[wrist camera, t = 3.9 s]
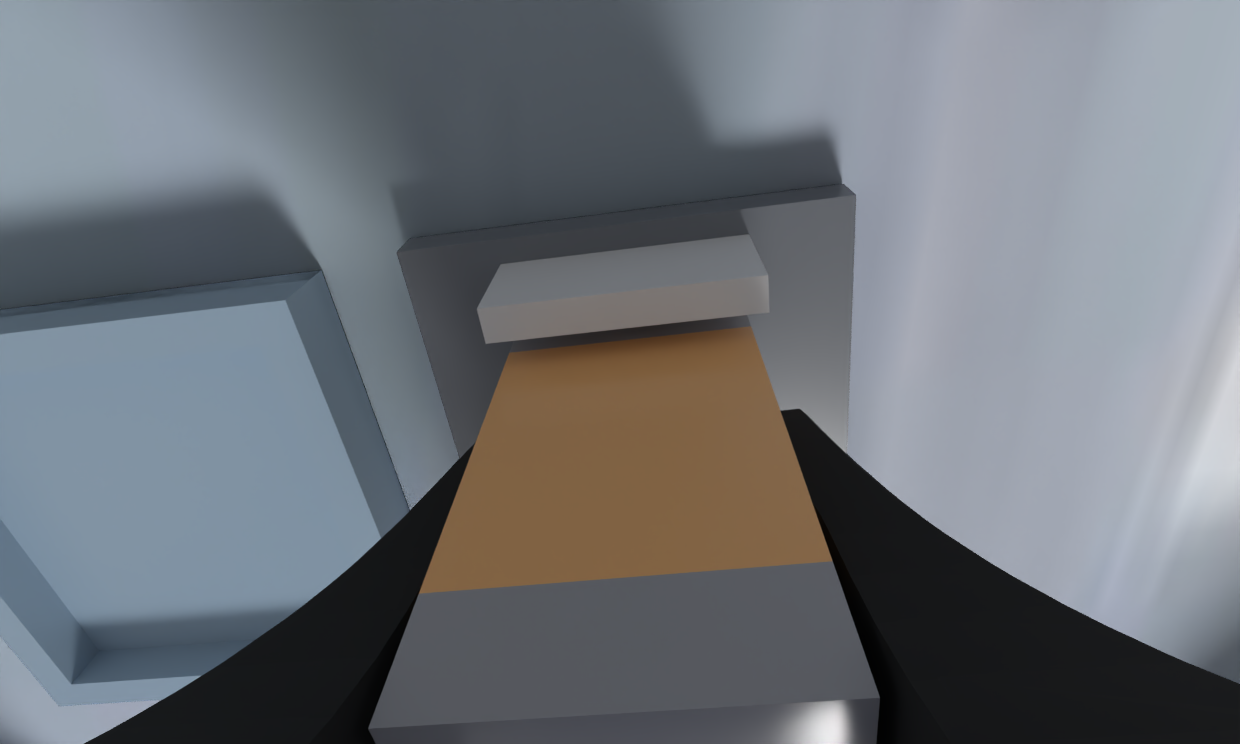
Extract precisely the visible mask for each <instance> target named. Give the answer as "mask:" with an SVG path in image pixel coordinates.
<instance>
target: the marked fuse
mask: <svg viewBox="0 0 1240 744" xmlns="http://www.w3.org/2000/svg"><path fill="white" fill-rule="evenodd" d="M879 704H880V696H879V693H878V691H877V688H876V685H875V682H874V679H873V676H872V673H871V670H870V667H869V665H868V662H867V659H866V656H865V653H864V650H863V647H862V644H861V642H860V639H859V636H858V633H857V630H856V627H855V624H854V621H853V619H852V616H851V613H850V610H849V607H848V604H847V601H846V598H845V595H844V593H843V590H842V587H841V584H840V581H839V578H838V575H837V572H836V570H835V567H834V564H833V561H832V558H831V555H830V552H829V549H828V547H827V544H826V541H825V538H824V535H823V532H822V529H821V526H820V523H819V521H818V518H817V515H816V512H815V509H814V506H813V503H812V500H811V498H810V495H809V492H808V489H807V486H806V483H805V480H804V477H803V474H802V472H801V469H800V466H799V463H798V460H797V457H796V454H795V451H794V449H793V446H792V443H791V440H790V437H789V434H788V431H787V428H786V426H785V423H784V420H783V417H782V414H781V411H780V408H779V405H778V402H777V400H776V397H775V394H774V391H773V388H772V385H771V382H770V379H769V377H768V374H767V371H766V368H765V365H764V362H763V359H762V356H761V354H760V351H759V348H758V345H757V342H756V339H755V336H754V333H753V330H752V328H751V325H750V322H749V319H748V316H747V315H742V316H733V317H724V318H715V319H706V320H697V321H688V322H679V323H669V324H660V325H651V326H642V327H633V328H624V329H615V330H606V331H597V332H588V333H579V334H570V335H561V336H552V337H543V338H534V339H525V340H516V341H514V342H513V344H512V347H511V350H510V352H509V355H508V357H507V360H506V363H505V365H504V368H503V371H502V373H501V376H500V379H499V381H498V384H497V387H496V389H495V392H494V395H493V397H492V400H491V403H490V405H489V408H488V411H487V413H486V416H485V419H484V421H483V424H482V427H481V429H480V432H479V435H478V437H477V440H476V443H475V445H474V448H473V451H472V453H471V456H470V459H469V461H468V464H467V467H466V469H465V472H464V475H463V477H462V480H461V483H460V485H459V488H458V491H457V493H456V496H455V499H454V501H453V504H452V507H451V509H450V512H449V515H448V517H447V520H446V523H445V525H444V528H443V531H442V533H441V536H440V539H439V541H438V544H437V547H436V549H435V552H434V555H433V557H432V560H431V563H430V565H429V568H428V571H427V573H426V576H425V579H424V581H423V584H422V587H421V589H420V592H419V595H418V597H417V600H416V603H415V605H414V608H413V611H412V613H411V616H410V619H409V621H408V624H407V627H406V629H405V632H404V635H403V637H402V640H401V643H400V645H399V648H398V650H397V653H396V656H395V658H394V661H393V664H392V666H391V669H390V672H389V674H388V677H387V680H386V682H385V685H384V688H383V690H382V693H381V696H380V698H379V701H378V704H377V706H376V709H375V712H374V714H373V717H372V720H371V722H370V725H369V728H368V729H369V731H370V733H371V735H372V737H373V739H374V741H375V743H376V744H876V741H877V729H878V716H879Z"/></svg>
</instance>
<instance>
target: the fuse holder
mask: <svg viewBox="0 0 1240 744" xmlns="http://www.w3.org/2000/svg"><path fill="white" fill-rule="evenodd" d="M855 211H856V195H855V194H854V193H853V192H852V191H851V190H850V189H849V188H848V187H846V186H845V185H844V184H838V185H830V186H822V187H814V188H806V189H798V190H790V191H782V192H774V193H766V194H758V195H750V196H742V197H735V198H727V199H719V200H711V201H703V202H695V203H687V204H679V205H671V206H663V207H655V208H647V209H639V210H631V211H623V212H615V213H607V214H600V215H592V216H584V217H576V218H568V219H560V220H552V221H544V222H536V223H528V224H520V225H512V226H504V227H496V228H488V229H480V230H472V231H465V232H457V233H449V234H441V235H433V236H425V237H417V238H410V239H409V240H408V241H407V242H406V243H405V244H404V245H403V246H402V247H401V248H400V249H399V250H398V251H397V255H398V259H399V262H400V265H401V268H402V272H403V275H404V278H405V282H406V285H407V288H408V291H409V295H410V298H411V301H412V304H413V308H414V311H415V314H416V318H417V321H418V324H419V327H420V331H421V334H422V337H423V340H424V344H425V347H426V350H427V354H428V357H429V360H430V363H431V367H432V370H433V373H434V376H435V380H436V383H437V386H438V390H439V393H440V396H441V399H442V403H443V406H444V409H445V412H446V416H447V419H448V422H449V426H450V429H451V432H452V435H453V439H454V442H455V445H456V448H457V452H458V455H459V458H461V457H462V456H463V455H464V454H465V452H466V451H467V450H468V449H469V448H470V447H471V446H472V445H473V444H475V443H476V440H477V437H478V435H479V432H480V429H481V427H482V424H483V421H484V419H485V416H486V413H487V411H488V408H489V405H490V403H491V400H492V397H493V395H494V392H495V389H496V387H497V384H498V381H499V379H500V376H501V373H502V371H503V368H504V365H505V363H506V360H507V357H508V355H509V352H510V350H511V347H512V344H513V342H514V341H516V340H525V339H534V338H543V337H552V336H561V335H570V334H579V333H588V332H597V331H606V330H615V329H624V328H633V327H642V326H651V325H660V324H669V323H679V322H688V321H697V320H706V319H715V318H724V317H733V316H742V315H747V316H748V319H749V322H750V325H751V328H752V330H753V333H754V336H755V339H756V342H757V345H758V348H759V351H760V354H761V356H762V359H763V362H764V365H765V368H766V371H767V374H768V377H769V379H770V382H771V385H772V388H773V391H774V394H775V397H776V400H777V402H778V405H779V408H780V411H781V410H791V409H801V410H802V411H803V412H804V413H806V414H807V415H808V416H809V417H810V418H811V419H812V420H813V421H814V422H815V423H816V424H817V425H818V426H819V427H820V428H821V429H822V430H823V431H824V432H825V433H826V434H827V435H828V436H829V437H830V438H831V439H832V440H833V441H834V442H835V443H836V444H837V445H838V446H839V447H840V448H841V449H842V450H843V451H844V452H845V453H846V454H847V438H848V410H849V381H850V353H851V324H852V296H853V268H854V239H855Z"/></svg>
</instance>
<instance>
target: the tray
mask: <svg viewBox="0 0 1240 744" xmlns="http://www.w3.org/2000/svg"><path fill="white" fill-rule="evenodd" d="M408 512H409V508H408V505H407V502H406V500H405V497H404V494H403V492H402V489H401V486H400V483H399V481H398V478H397V475H396V472H395V470H394V467H393V464H392V462H391V459H390V456H389V453H388V451H387V448H386V445H385V442H384V440H383V437H382V434H381V432H380V429H379V426H378V423H377V421H376V418H375V415H374V412H373V410H372V407H371V404H370V401H369V399H368V396H367V393H366V391H365V388H364V385H363V382H362V380H361V377H360V374H359V371H358V369H357V366H356V363H355V361H354V358H353V355H352V352H351V350H350V347H349V344H348V341H347V339H346V336H345V333H344V331H343V328H342V325H341V322H340V320H339V317H338V314H337V311H336V309H335V306H334V303H333V300H332V298H331V295H330V292H329V290H328V287H327V284H326V281H325V279H324V276H323V273H322V270H319V271H311V272H303V273H295V274H286V275H278V276H270V277H262V278H254V279H246V280H238V281H230V282H221V283H213V284H205V285H197V286H189V287H181V288H173V289H165V290H156V291H148V292H140V293H132V294H124V295H116V296H108V297H100V298H92V299H83V300H75V301H67V302H59V303H51V304H43V305H35V306H27V307H18V308H10V309H2V310H0V637H1V638H2V639H3V640H4V641H5V643H6V644H7V645H8V646H9V647H10V649H11V650H12V651H13V652H14V653H15V655H16V656H17V657H18V658H19V659H20V660H21V662H22V663H23V664H24V665H25V666H26V668H27V669H28V670H29V671H30V672H31V674H32V675H33V676H34V677H35V678H36V680H37V681H38V682H39V683H40V684H41V685H42V687H43V688H44V689H45V690H46V691H47V693H48V694H49V695H50V696H51V697H52V699H53V700H54V701H55V702H56V703H57V704H58V706H72V705H87V704H103V703H118V702H133V701H148V700H163V699H164V698H166V697H168V696H170V695H171V694H173V693H175V692H176V691H178V690H180V689H181V688H183V687H184V686H186V685H188V684H189V683H191V682H192V681H194V680H196V679H197V678H199V677H200V676H202V675H204V674H205V673H207V672H208V671H210V670H212V669H213V668H215V667H216V666H218V665H219V664H221V663H222V662H224V661H225V660H227V659H228V658H230V657H231V656H233V655H234V654H236V653H237V652H238V651H240V650H241V649H243V648H244V647H246V646H247V645H248V644H250V643H251V642H253V641H254V640H256V639H257V638H258V637H260V636H261V635H263V634H264V633H266V632H267V631H268V630H270V629H271V628H273V627H274V626H276V625H277V624H279V623H280V622H281V621H283V620H284V619H286V618H287V617H288V616H290V615H291V614H292V613H294V612H295V611H296V610H298V609H299V608H300V607H302V606H303V605H304V604H305V603H307V602H308V601H309V600H310V599H312V598H313V597H314V596H316V595H317V594H318V593H319V592H321V591H322V590H323V589H324V588H326V587H327V586H328V585H329V584H331V583H332V582H333V581H334V580H335V579H337V578H338V577H339V576H340V575H341V574H343V573H344V572H345V571H346V570H347V569H348V568H350V567H351V566H352V565H353V564H354V563H355V562H356V561H358V560H359V559H360V558H361V557H362V556H363V555H364V554H365V553H366V552H367V551H368V550H369V549H370V548H371V547H373V546H374V545H375V544H376V543H377V542H378V541H379V540H380V539H381V538H382V537H383V536H384V535H385V534H386V533H387V532H388V531H390V530H391V529H392V528H393V527H394V526H395V525H396V524H397V523H398V522H399V521H400V520H401V519H402V518H403V517H404V516H405V515H406V514H407V513H408Z"/></svg>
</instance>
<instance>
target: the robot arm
mask: <svg viewBox="0 0 1240 744" xmlns="http://www.w3.org/2000/svg"><path fill="white" fill-rule="evenodd" d="M781 414H782V417H783V420H784V423H785V426H786V428H787V431H788V434H789V437H790V440H791V443H792V446H793V449H794V451H795V454H796V457H797V460H798V463H799V466H800V469H801V472H802V474H803V477H804V480H805V483H806V486H807V489H808V492H809V495H810V498H811V500H812V503H813V506H814V509H815V512H816V515H817V518H818V521H819V523H820V526H821V529H822V532H823V535H824V538H825V541H826V544H827V547H828V549H829V552H830V555H831V558H832V561H833V564H834V567H835V570H836V572H837V575H838V578H839V581H840V584H841V587H842V590H843V593H844V595H845V598H846V601H847V604H848V607H849V610H850V613H851V616H852V619H853V621H854V624H855V627H856V630H857V633H858V636H859V639H860V642H861V644H862V647H863V650H864V653H865V656H866V659H867V662H868V665H869V667H870V670H871V673H872V676H873V679H874V682H875V685H876V688H877V691H878V693H879V696H880V704H879V716H878V729H877V741H876V744H1240V684H1238V683H1236V682H1233V681H1231V680H1228V679H1226V678H1223V677H1221V676H1218V675H1216V674H1214V673H1211V672H1209V671H1206V670H1204V669H1201V668H1199V667H1196V666H1194V665H1191V664H1189V663H1186V662H1184V661H1182V660H1179V659H1177V658H1175V657H1173V656H1170V655H1168V654H1166V653H1164V652H1161V651H1159V650H1157V649H1155V648H1153V647H1151V646H1149V645H1146V644H1144V643H1142V642H1140V641H1138V640H1136V639H1134V638H1131V637H1129V636H1127V635H1125V634H1123V633H1121V632H1118V631H1116V630H1114V629H1112V628H1110V627H1108V626H1106V625H1104V624H1102V623H1100V622H1098V621H1096V620H1094V619H1092V618H1090V617H1088V616H1086V615H1084V614H1082V613H1080V612H1078V611H1076V610H1074V609H1072V608H1070V607H1068V606H1066V605H1064V604H1062V603H1060V602H1059V601H1057V600H1055V599H1053V598H1051V597H1049V596H1048V595H1046V594H1044V593H1042V592H1040V591H1039V590H1037V589H1035V588H1033V587H1031V586H1029V585H1028V584H1026V583H1024V582H1022V581H1020V580H1019V579H1017V578H1015V577H1013V576H1012V575H1010V574H1008V573H1006V572H1005V571H1003V570H1001V569H1000V568H998V567H996V566H995V565H993V564H991V563H990V562H988V561H986V560H985V559H983V558H982V557H980V556H979V555H977V554H976V553H974V552H973V551H971V550H969V549H968V548H966V547H965V546H963V545H962V544H960V543H959V542H957V541H956V540H954V539H953V538H951V537H949V536H948V535H946V534H945V533H943V532H942V531H941V530H939V529H938V528H936V527H935V526H933V525H932V524H931V523H929V522H928V521H926V520H925V519H924V518H922V517H921V516H920V515H919V514H917V513H916V512H915V511H913V510H912V509H911V508H910V507H908V506H907V505H906V504H904V503H903V502H902V501H901V500H899V499H898V498H897V497H896V496H894V495H893V494H892V493H891V492H890V491H888V490H887V489H886V488H885V487H884V486H882V485H881V484H880V483H879V482H878V481H877V480H876V479H874V478H873V477H872V476H871V475H870V474H869V473H868V472H866V471H865V470H864V469H863V468H862V467H861V466H860V465H858V464H857V463H856V462H855V461H854V460H853V459H852V458H851V457H850V456H849V455H847V454H846V453H845V452H844V451H843V450H842V449H841V448H840V447H839V446H838V445H837V444H836V443H835V442H834V441H833V440H832V439H831V438H830V437H829V436H828V435H827V434H826V433H825V432H824V431H823V430H822V429H821V428H820V427H819V426H818V425H817V424H816V423H815V422H814V421H813V420H812V419H811V418H810V417H809V416H808V415H807V414H806V413H804V412H803V411H802V410H801V409H791V410H781ZM474 445H475V444H473V445H472V446H471V447H470V448H469V449H468V450H467V451H466V452H465V454H464V455H463V456H462V457H461V458H460V459H459V460H458V461H457V462H456V463H455V464H454V465H453V466H452V467H451V468H450V469H449V471H448V472H447V473H446V474H445V475H444V476H443V477H442V478H441V479H440V480H439V481H438V482H437V483H436V484H435V485H434V486H433V487H432V488H431V489H430V491H429V492H428V493H427V494H426V495H425V496H424V497H423V498H422V499H421V500H420V501H419V502H418V503H417V504H416V505H415V506H414V507H413V508H412V509H411V510H410V511H409V512H408V513H407V514H406V515H405V516H404V517H403V518H402V519H401V520H400V521H399V522H398V523H397V524H396V525H395V526H394V527H393V528H392V529H391V530H390V531H388V532H387V533H386V534H385V535H384V536H383V537H382V538H381V539H380V540H379V541H378V542H377V543H376V544H375V545H374V546H373V547H371V548H370V549H369V550H368V551H367V552H366V553H365V554H364V555H363V556H362V557H361V558H360V559H359V560H358V561H356V562H355V563H354V564H353V565H352V566H351V567H350V568H348V569H347V570H346V571H345V572H344V573H343V574H341V575H340V576H339V577H338V578H337V579H335V580H334V581H333V582H332V583H331V584H329V585H328V586H327V587H326V588H324V589H323V590H322V591H321V592H319V593H318V594H317V595H316V596H314V597H313V598H312V599H310V600H309V601H308V602H307V603H305V604H304V605H303V606H302V607H300V608H299V609H298V610H296V611H295V612H294V613H292V614H291V615H290V616H288V617H287V618H286V619H284V620H283V621H281V622H280V623H279V624H277V625H276V626H274V627H273V628H271V629H270V630H268V631H267V632H266V633H264V634H263V635H261V636H260V637H258V638H257V639H256V640H254V641H253V642H251V643H250V644H248V645H247V646H246V647H244V648H243V649H241V650H240V651H238V652H237V653H236V654H234V655H233V656H231V657H230V658H228V659H227V660H225V661H224V662H222V663H221V664H219V665H218V666H216V667H215V668H213V669H212V670H210V671H208V672H207V673H205V674H204V675H202V676H200V677H199V678H197V679H196V680H194V681H192V682H191V683H189V684H188V685H186V686H184V687H183V688H181V689H180V690H178V691H176V692H175V693H173V694H171V695H170V696H168V697H166V698H164V699H163V700H161V701H159V702H158V703H156V704H154V705H153V706H151V707H149V708H148V709H146V710H144V711H143V712H141V713H139V714H137V715H136V716H134V717H132V718H130V719H129V720H127V721H125V722H123V723H121V724H120V725H118V726H116V727H114V728H113V729H111V730H109V731H107V732H105V733H103V734H101V735H99V736H98V737H96V738H94V739H92V740H90V741H88V742H86V743H84V744H376V743H375V741H374V739H373V737H372V735H371V733H370V731H369V729H368V728H369V725H370V722H371V720H372V717H373V714H374V712H375V709H376V706H377V704H378V701H379V698H380V696H381V693H382V690H383V688H384V685H385V682H386V680H387V677H388V674H389V672H390V669H391V666H392V664H393V661H394V658H395V656H396V653H397V650H398V648H399V645H400V643H401V640H402V637H403V635H404V632H405V629H406V627H407V624H408V621H409V619H410V616H411V613H412V611H413V608H414V605H415V603H416V600H417V597H418V595H419V592H420V589H421V587H422V584H423V581H424V579H425V576H426V573H427V571H428V568H429V565H430V563H431V560H432V557H433V555H434V552H435V549H436V547H437V544H438V541H439V539H440V536H441V533H442V531H443V528H444V525H445V523H446V520H447V517H448V515H449V512H450V509H451V507H452V504H453V501H454V499H455V496H456V493H457V491H458V488H459V485H460V483H461V480H462V477H463V475H464V472H465V469H466V467H467V464H468V461H469V459H470V456H471V453H472V451H473V448H474Z"/></svg>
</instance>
